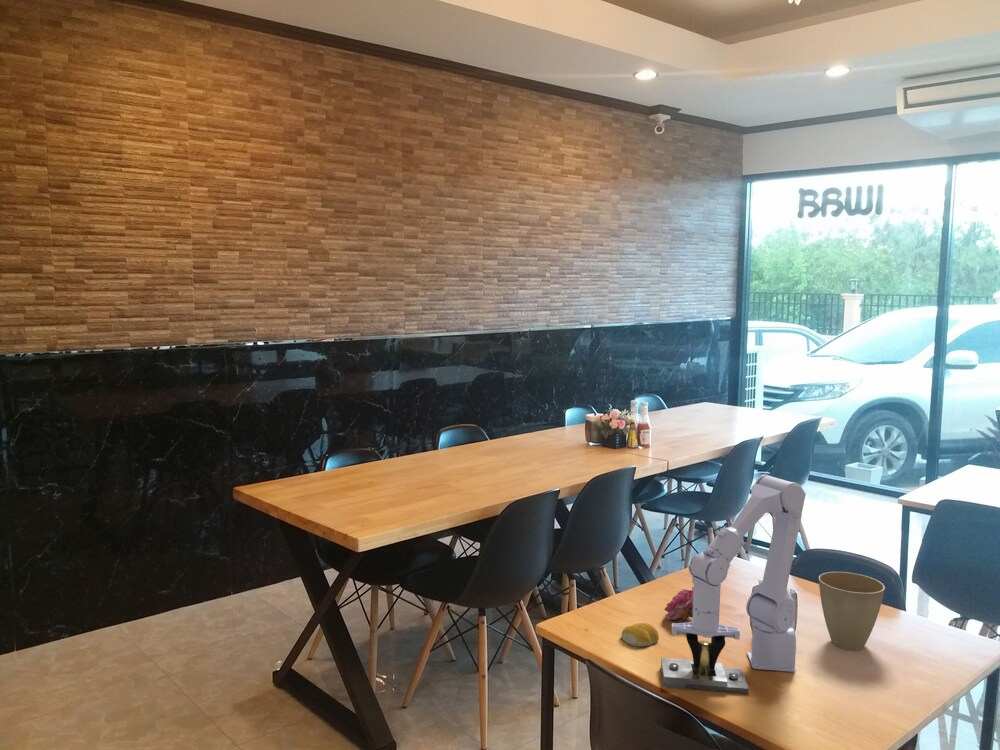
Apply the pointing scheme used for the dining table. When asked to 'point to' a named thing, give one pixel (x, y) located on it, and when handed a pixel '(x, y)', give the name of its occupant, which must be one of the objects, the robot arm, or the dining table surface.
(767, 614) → the robot arm
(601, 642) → the dining table surface
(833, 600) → the plant pot
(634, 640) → the bread roll
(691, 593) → the flower
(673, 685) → the grey plate with knobs
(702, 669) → the brass pin
